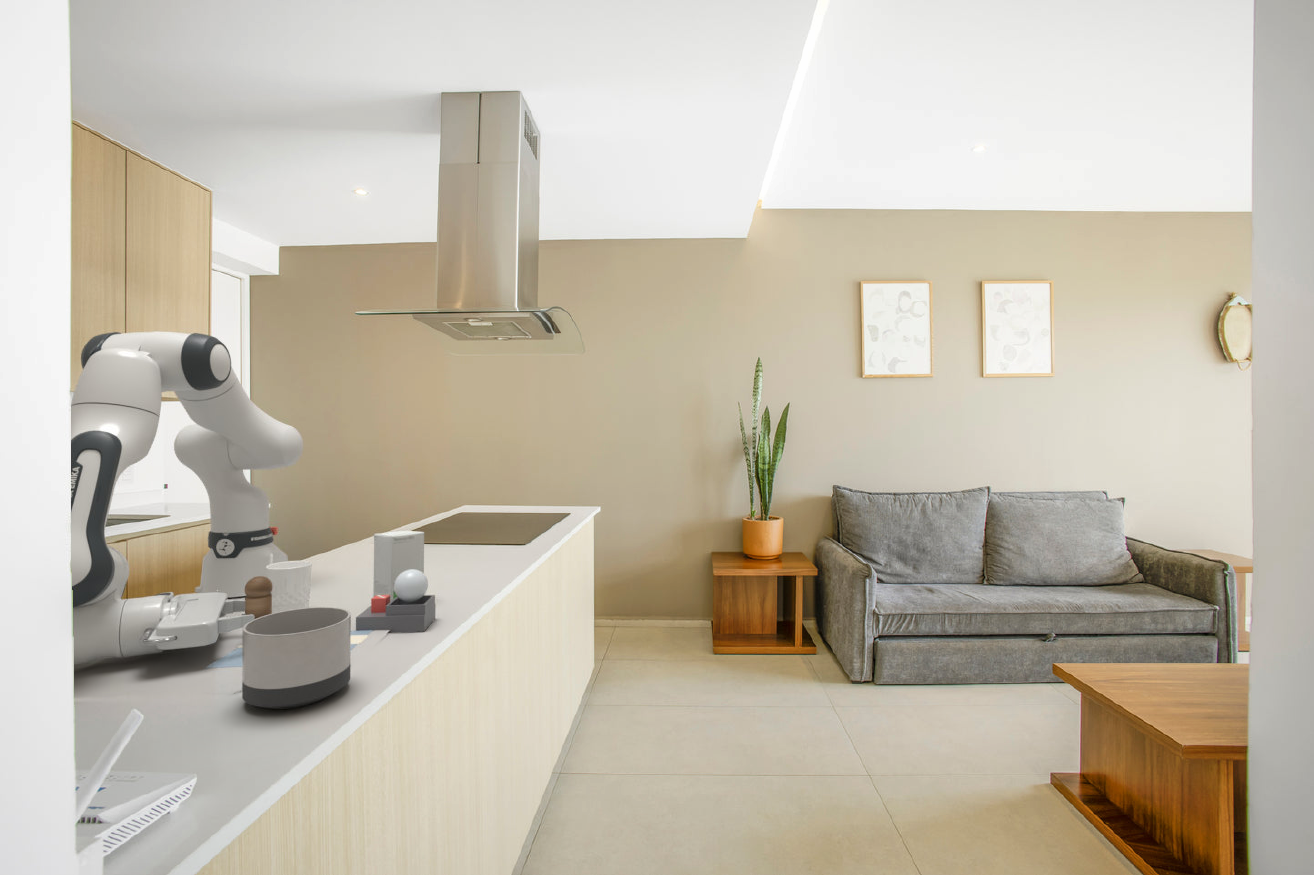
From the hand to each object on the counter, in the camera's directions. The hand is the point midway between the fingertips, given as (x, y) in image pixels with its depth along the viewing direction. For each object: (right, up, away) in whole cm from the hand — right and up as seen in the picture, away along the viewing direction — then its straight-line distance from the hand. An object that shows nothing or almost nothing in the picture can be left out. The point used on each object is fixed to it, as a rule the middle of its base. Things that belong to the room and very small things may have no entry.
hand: (256, 611), depth 101 cm
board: (+8, -6, -2) cm, 10 cm away
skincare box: (+14, -6, +25) cm, 29 cm away
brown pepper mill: (0, -5, 0) cm, 5 cm away
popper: (+19, -6, +11) cm, 23 cm away
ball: (+22, -1, +12) cm, 25 cm away
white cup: (-6, -6, +19) cm, 20 cm away
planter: (+19, -6, -19) cm, 27 cm away
